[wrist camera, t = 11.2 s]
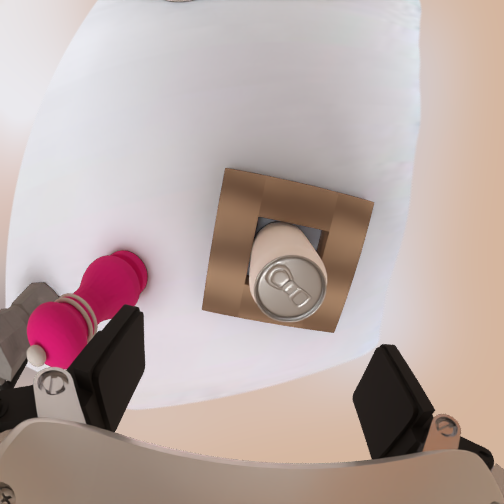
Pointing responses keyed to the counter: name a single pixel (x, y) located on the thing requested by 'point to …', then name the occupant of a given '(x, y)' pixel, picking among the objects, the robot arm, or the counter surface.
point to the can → (286, 273)
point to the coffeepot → (19, 331)
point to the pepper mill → (84, 309)
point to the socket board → (292, 211)
